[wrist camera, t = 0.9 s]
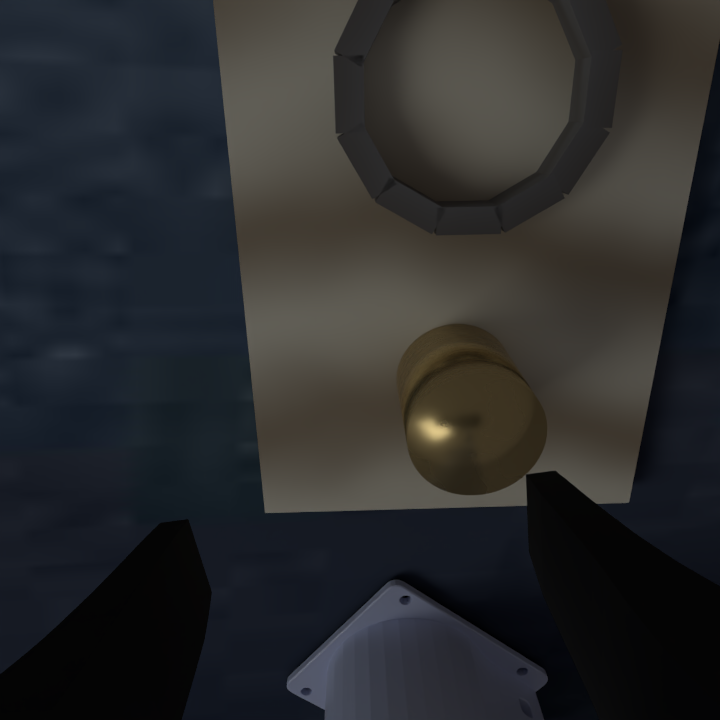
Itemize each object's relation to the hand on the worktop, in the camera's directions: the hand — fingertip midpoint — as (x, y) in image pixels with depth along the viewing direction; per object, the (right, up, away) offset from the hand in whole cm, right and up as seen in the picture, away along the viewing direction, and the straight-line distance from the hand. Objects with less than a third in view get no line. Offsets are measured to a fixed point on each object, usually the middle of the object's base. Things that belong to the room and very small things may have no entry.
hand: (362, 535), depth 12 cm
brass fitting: (+3, +3, +8) cm, 9 cm away
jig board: (+3, +8, +7) cm, 11 cm away
